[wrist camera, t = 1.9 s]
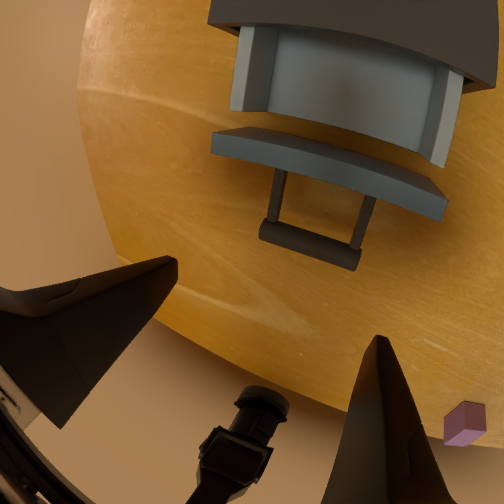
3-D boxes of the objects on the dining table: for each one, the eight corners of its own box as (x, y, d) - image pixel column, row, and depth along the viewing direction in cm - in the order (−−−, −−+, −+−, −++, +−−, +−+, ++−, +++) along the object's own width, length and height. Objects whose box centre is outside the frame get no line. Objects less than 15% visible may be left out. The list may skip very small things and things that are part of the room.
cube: (465, 421, 22) (465, 446, 19) (444, 417, 23) (443, 444, 20) (484, 404, 20) (486, 431, 17) (463, 400, 21) (464, 429, 18)
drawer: (399, 260, 18) (403, 300, 14) (238, 206, 21) (204, 231, 17) (456, -39, 5) (470, -69, 1) (281, -71, 8) (255, -103, 5)
